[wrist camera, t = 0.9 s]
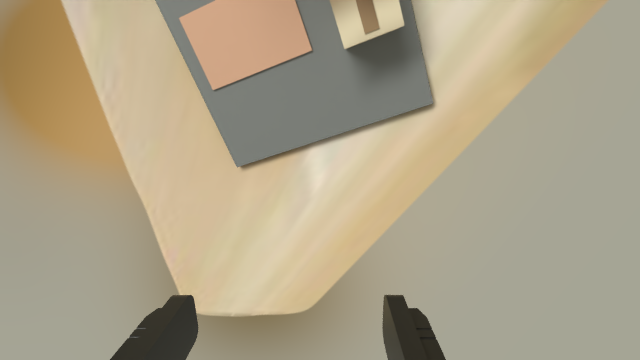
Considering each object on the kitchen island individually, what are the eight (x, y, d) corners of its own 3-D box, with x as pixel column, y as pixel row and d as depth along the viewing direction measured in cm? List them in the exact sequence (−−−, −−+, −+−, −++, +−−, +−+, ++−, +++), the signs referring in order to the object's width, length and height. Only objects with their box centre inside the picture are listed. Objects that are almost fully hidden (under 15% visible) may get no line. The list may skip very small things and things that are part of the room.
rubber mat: (121, -77, 26) (114, -80, 26) (361, -222, 21) (361, -231, 20) (238, 165, 34) (236, 167, 34) (431, 102, 29) (433, 103, 29)
